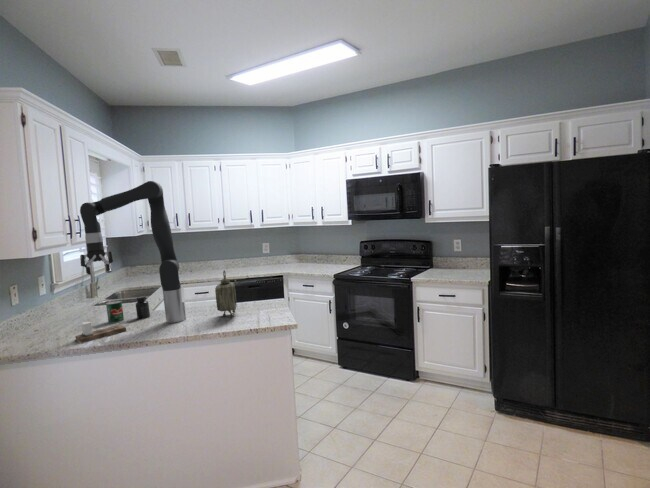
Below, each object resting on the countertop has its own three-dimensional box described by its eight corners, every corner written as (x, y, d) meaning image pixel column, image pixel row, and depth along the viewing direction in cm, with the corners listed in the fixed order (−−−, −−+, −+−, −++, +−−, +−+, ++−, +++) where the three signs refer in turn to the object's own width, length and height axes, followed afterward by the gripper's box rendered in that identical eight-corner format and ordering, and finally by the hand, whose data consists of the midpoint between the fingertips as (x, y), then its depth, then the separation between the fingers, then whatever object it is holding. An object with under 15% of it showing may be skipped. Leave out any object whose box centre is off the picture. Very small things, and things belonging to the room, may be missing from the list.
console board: (119, 328, 202) (119, 324, 201) (126, 330, 196) (125, 326, 195) (75, 339, 187) (75, 335, 187) (81, 343, 181) (81, 338, 181)
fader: (88, 332, 190) (87, 321, 190) (93, 334, 185) (91, 322, 185) (81, 334, 188) (80, 322, 187) (86, 336, 183) (84, 324, 183)
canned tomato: (117, 323, 213) (114, 303, 212) (105, 323, 215) (102, 304, 214) (127, 319, 221) (124, 300, 220) (115, 319, 222) (112, 300, 221)
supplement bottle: (152, 315, 225) (149, 295, 224) (147, 318, 218) (144, 297, 217) (140, 316, 225) (137, 296, 224) (135, 319, 218) (132, 298, 217)
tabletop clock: (235, 318, 203) (230, 271, 201) (218, 320, 202) (213, 273, 200) (237, 311, 217) (233, 267, 215) (221, 313, 216) (216, 269, 214)
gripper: (106, 240, 205) (110, 270, 206) (76, 243, 194) (80, 275, 196) (112, 240, 200) (116, 271, 201) (81, 243, 189) (85, 275, 191)
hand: (98, 272), depth 198 cm, fingers open, 8 cm apart
